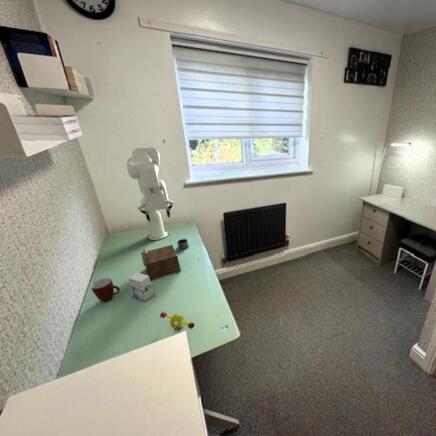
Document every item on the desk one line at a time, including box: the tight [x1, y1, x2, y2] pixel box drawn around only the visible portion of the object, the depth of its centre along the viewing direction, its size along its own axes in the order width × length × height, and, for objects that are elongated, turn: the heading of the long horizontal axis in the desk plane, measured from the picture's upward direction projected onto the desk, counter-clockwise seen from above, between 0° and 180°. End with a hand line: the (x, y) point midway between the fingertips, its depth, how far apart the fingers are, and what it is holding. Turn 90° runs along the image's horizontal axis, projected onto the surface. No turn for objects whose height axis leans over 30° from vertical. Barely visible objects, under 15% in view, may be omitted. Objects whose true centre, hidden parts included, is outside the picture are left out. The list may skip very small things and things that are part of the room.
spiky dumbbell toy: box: [159, 311, 195, 330], centre depth 101 cm, size 18×6×7 cm, turn 69°
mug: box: [90, 277, 121, 303], centre depth 116 cm, size 11×8×10 cm
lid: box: [140, 244, 179, 267], centre depth 136 cm, size 17×15×5 cm
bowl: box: [176, 238, 190, 250], centre depth 164 cm, size 7×7×4 cm
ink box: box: [128, 272, 154, 301], centre depth 118 cm, size 9×5×12 cm, turn 71°
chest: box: [145, 257, 181, 282], centre depth 139 cm, size 16×15×10 cm
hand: (159, 218), depth 133 cm, fingers open, 9 cm apart
